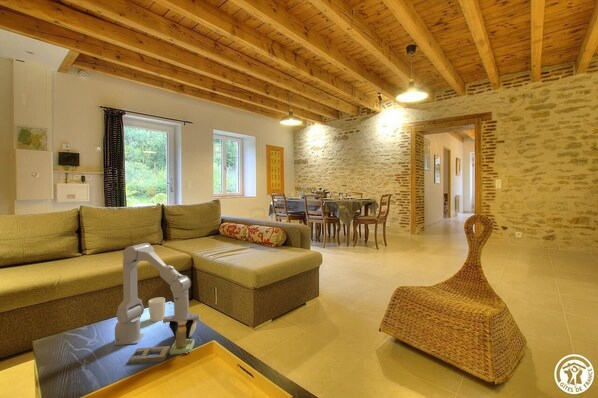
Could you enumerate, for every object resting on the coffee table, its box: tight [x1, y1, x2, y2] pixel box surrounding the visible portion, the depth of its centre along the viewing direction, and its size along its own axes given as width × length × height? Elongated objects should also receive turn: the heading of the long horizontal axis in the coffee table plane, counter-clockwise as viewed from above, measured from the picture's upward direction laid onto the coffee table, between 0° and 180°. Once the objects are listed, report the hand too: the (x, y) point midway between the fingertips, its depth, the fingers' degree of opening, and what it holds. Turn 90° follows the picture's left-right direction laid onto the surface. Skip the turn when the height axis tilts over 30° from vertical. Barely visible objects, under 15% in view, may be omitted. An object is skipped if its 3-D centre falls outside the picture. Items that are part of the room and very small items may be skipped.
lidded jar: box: [178, 320, 197, 338], centre depth 134 cm, size 11×11×9 cm
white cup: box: [148, 296, 166, 323], centre depth 152 cm, size 8×8×10 cm
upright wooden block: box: [176, 327, 189, 349], centre depth 123 cm, size 4×4×7 cm
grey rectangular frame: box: [128, 345, 171, 364], centre depth 118 cm, size 13×8×2 cm, turn 97°
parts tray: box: [169, 338, 195, 356], centre depth 123 cm, size 8×8×2 cm
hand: (182, 337), depth 123 cm, fingers closed on upright wooden block, 4 cm apart
